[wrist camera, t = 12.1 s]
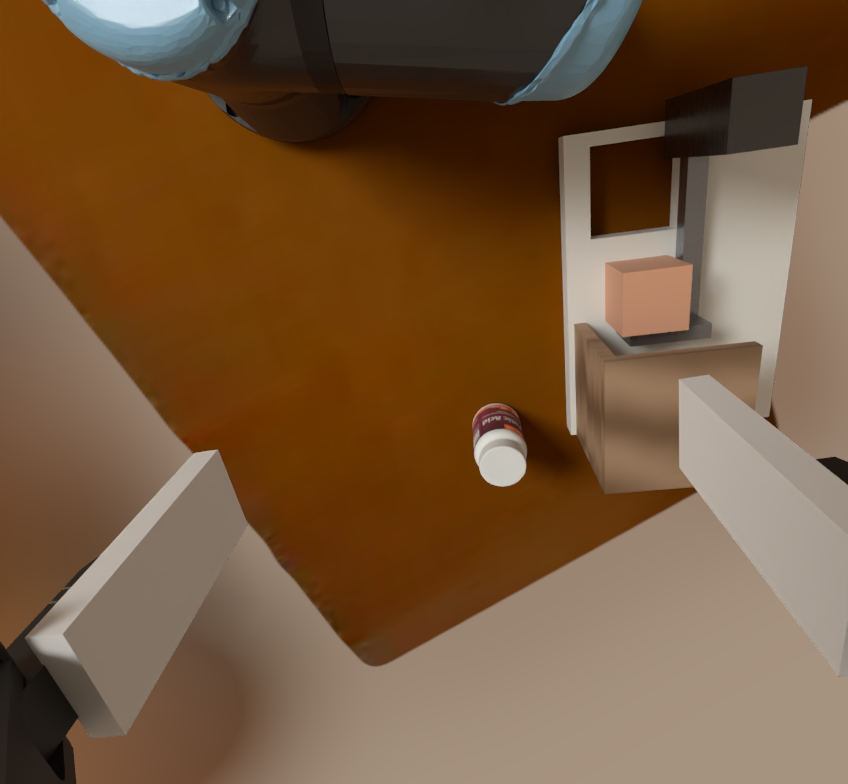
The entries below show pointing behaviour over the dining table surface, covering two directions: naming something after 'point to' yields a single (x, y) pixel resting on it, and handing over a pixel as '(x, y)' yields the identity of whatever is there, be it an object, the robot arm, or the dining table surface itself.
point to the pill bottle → (499, 444)
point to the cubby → (647, 406)
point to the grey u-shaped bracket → (721, 135)
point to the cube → (648, 295)
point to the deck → (722, 248)
